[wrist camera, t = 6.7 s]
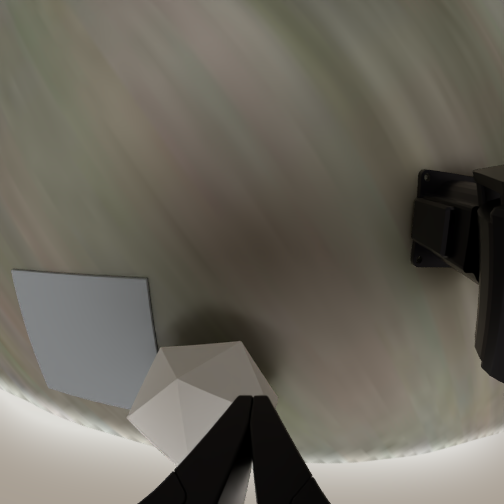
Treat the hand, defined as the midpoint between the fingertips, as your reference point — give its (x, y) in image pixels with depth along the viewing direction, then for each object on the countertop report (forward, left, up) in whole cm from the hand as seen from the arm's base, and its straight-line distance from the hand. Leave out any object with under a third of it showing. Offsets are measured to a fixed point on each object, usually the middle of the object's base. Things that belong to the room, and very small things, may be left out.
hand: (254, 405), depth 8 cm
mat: (+15, +7, -12) cm, 20 cm away
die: (+3, +8, -12) cm, 15 cm away
